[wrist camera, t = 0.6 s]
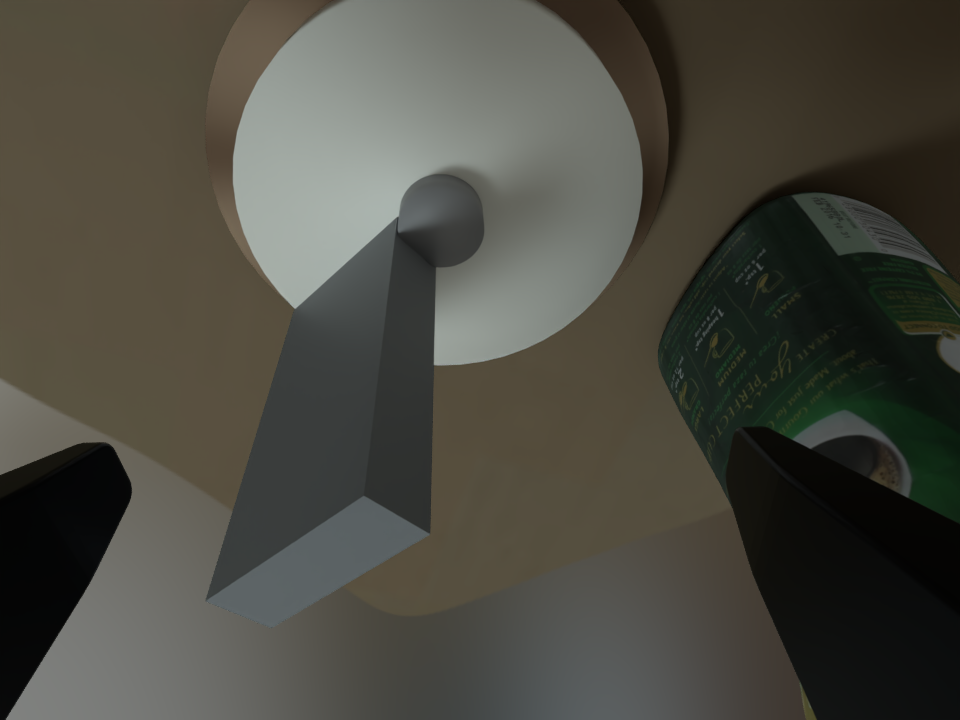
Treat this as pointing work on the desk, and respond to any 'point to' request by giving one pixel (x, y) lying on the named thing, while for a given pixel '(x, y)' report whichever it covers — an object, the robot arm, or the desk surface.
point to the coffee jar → (825, 346)
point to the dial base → (581, 3)
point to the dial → (407, 258)
